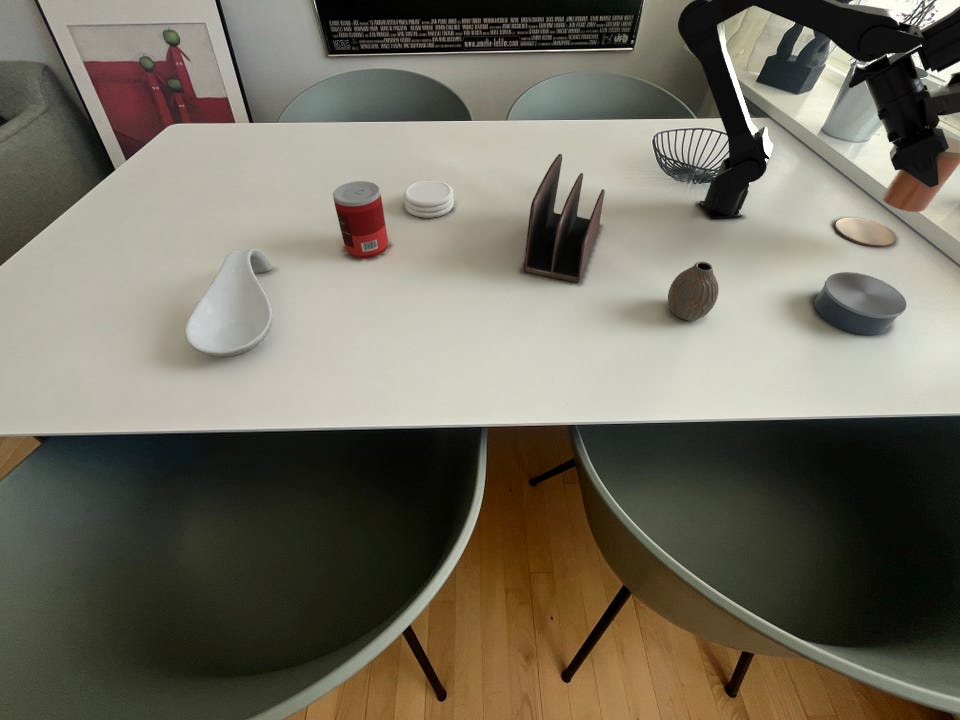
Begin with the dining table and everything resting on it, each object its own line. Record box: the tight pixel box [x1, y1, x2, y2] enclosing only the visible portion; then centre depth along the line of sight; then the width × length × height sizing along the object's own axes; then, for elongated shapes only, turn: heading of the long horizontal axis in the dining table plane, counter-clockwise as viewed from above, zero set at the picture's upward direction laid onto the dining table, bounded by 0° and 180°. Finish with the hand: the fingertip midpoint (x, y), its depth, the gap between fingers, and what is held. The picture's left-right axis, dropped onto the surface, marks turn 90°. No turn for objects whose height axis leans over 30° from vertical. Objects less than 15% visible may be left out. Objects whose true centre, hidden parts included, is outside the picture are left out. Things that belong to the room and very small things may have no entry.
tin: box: [813, 271, 907, 336], centre depth 74 cm, size 11×11×4 cm
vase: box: [667, 261, 720, 321], centre depth 73 cm, size 7×7×9 cm
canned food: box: [332, 180, 389, 260], centre depth 84 cm, size 8×8×11 cm
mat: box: [834, 216, 896, 248], centre depth 92 cm, size 10×10×1 cm
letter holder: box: [522, 153, 606, 283], centre depth 83 cm, size 10×20×14 cm, turn 160°
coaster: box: [403, 179, 455, 219], centre depth 98 cm, size 10×10×4 cm
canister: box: [881, 136, 960, 213], centre depth 79 cm, size 7×7×10 cm
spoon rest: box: [184, 248, 273, 357], centre depth 73 cm, size 24×12×7 cm, turn 9°
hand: (932, 177), depth 79 cm, fingers closed on canister, 6 cm apart
